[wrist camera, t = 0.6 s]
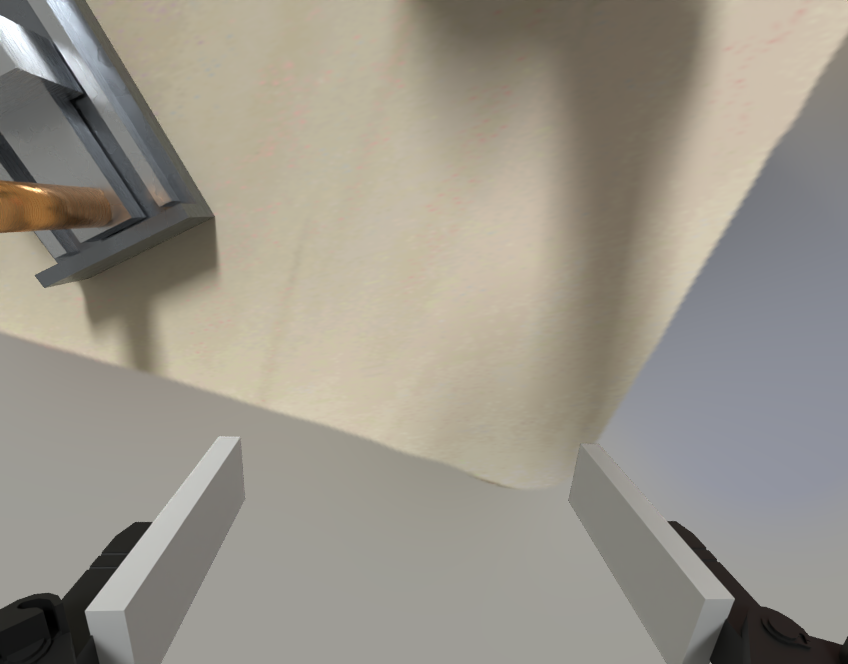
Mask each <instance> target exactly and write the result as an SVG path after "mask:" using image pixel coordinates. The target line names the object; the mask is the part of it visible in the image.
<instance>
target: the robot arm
mask: <svg viewBox="0 0 848 664" xmlns="http://www.w3.org/2000/svg"><path fill="white" fill-rule="evenodd" d="M244 500H245V491H244V477H243V464H242V450H241V438H240V437H223V436H221V437H218V438H217V440H216V441H215V442H214V443H213V445H212V446H211V447H210V449H209V450H208V451H207V453H206V454H205V455H204V456H203V458H202V459H201V460H200V462H199V463H198V464H197V466H196V467H195V468H194V470H193V471H192V472H191V474H190V475H189V476H188V477H187V479H186V480H185V481H184V483H183V484H182V485H181V487H180V488H179V490H178V491H177V492H176V493H175V494H174V496H173V497H172V498H171V500H170V501H169V502H168V503H167V505H166V506H165V507H164V509H163V510H162V511H161V513H160V514H159V515H158V517H157V518H156V519H155V520H154V522H135V523H133V524H132V525H130V526H129V527H128V528H126V529H125V530H124V531H122V532H121V533H119V534H118V535H117V536H115V538H114V539H113V540H112V541H111V542H110V543H109V545H108V546H107V547H106V548H105V549H104V550H103V552H102V554H101V556H98V558H97V559H96V560H95V561H94V562H93V563H92V565H91V566H90V569H89V570H87V571H86V572H85V573H84V574H83V575H82V577H81V578H80V579H79V580H78V581H77V582H76V583H75V585H74V586H73V587H72V588H71V589H70V591H69V592H68V593H67V594H66V595H65V596H64V598H63V599H62V600H61V599H60V598H59V596H58V595H54V594H51V593H42V594H34V595H31V596H28V597H25V598H22V599H19V600H17V601H15V602H13V603H11V604H9V605H8V606H6V607H4V608H2V609H0V664H161V662H162V660H163V658H164V656H165V654H166V653H167V651H168V648H169V647H170V645H171V642H172V641H173V639H174V637H175V635H176V633H177V631H178V629H179V627H180V625H181V623H182V621H183V619H184V617H185V615H186V613H187V611H188V609H189V607H190V606H191V604H192V602H193V600H194V598H195V596H196V594H197V592H198V590H199V588H200V586H201V584H202V582H203V580H204V578H205V576H206V574H207V572H208V570H209V568H210V566H211V564H212V563H213V561H214V559H215V557H216V555H217V553H218V551H219V549H220V547H221V545H222V543H223V541H224V539H225V537H226V535H227V533H228V531H229V529H230V527H231V525H232V523H233V521H234V519H235V517H236V516H237V514H238V512H239V509H240V508H241V506H242V504H243V502H244ZM568 501H569V502H570V504H571V506H572V507H573V509H574V511H575V512H576V514H577V516H578V517H579V519H580V521H581V522H582V524H583V525H584V527H585V529H586V531H587V532H588V534H589V536H590V537H591V539H592V541H593V542H594V544H595V546H596V547H597V549H598V551H599V552H600V554H601V556H602V557H603V559H604V561H605V562H606V564H607V565H608V567H609V569H610V570H611V572H612V573H613V575H614V577H615V579H616V580H617V582H618V584H619V585H620V587H621V589H622V590H623V592H624V594H625V595H626V597H627V599H628V600H629V602H630V604H631V605H632V607H633V608H634V610H635V612H636V614H637V615H638V617H639V618H640V620H641V622H642V623H643V625H644V627H645V628H646V630H647V632H648V633H649V635H650V637H651V638H652V640H653V642H654V643H655V645H656V647H657V648H658V650H659V652H660V653H661V655H662V657H663V658H664V660H665V662H666V663H667V664H709V663H710V662H711V663H712V664H848V637H847V639H846V641H845V643H844V644H843V645H840V644H837V643H834V642H830V641H826V640H823V639H819V638H815V637H812V636H809V635H808V634H807V633H806V632H805V630H804V629H803V628H801V627H800V626H799V625H798V624H796V623H795V622H794V621H793V620H791V619H790V618H788V617H787V616H785V615H783V614H781V613H779V612H778V611H775V610H773V609H770V608H767V607H761V606H760V605H759V604H758V603H757V602H756V601H755V600H754V599H753V598H752V597H751V596H750V595H749V593H748V592H747V591H746V590H745V589H744V588H743V587H742V586H741V585H740V584H739V583H738V582H737V580H736V579H735V578H734V577H733V576H732V575H731V574H730V573H729V572H728V571H727V570H726V569H725V567H723V565H722V564H721V563H720V562H717V559H716V558H715V557H714V556H713V554H712V553H711V552H710V551H709V550H706V547H705V546H704V545H703V544H702V543H701V542H700V540H699V539H698V538H697V537H696V536H695V535H694V534H693V533H692V532H690V531H689V530H687V529H686V528H685V527H683V526H681V525H680V524H679V523H678V522H676V521H666V520H665V519H664V518H663V516H662V515H661V514H660V513H659V512H658V511H657V510H656V508H655V507H654V506H653V505H652V504H651V503H650V502H649V500H647V498H646V497H645V496H644V495H643V494H642V493H641V492H640V490H639V489H638V488H637V487H636V486H635V485H634V483H633V482H632V481H631V480H630V479H629V478H628V477H627V475H626V474H625V473H624V472H623V471H622V470H621V469H620V467H619V466H618V465H617V464H616V463H615V462H614V461H613V460H612V458H611V457H610V456H609V455H608V454H607V453H606V452H605V450H604V449H603V448H602V447H601V446H600V445H599V444H584V443H580V448H579V453H578V457H577V462H576V467H575V472H574V476H573V481H572V486H571V490H570V495H569V500H568Z"/></svg>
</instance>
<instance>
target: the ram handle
mask: <svg viewBox="0 0 848 664" xmlns="http://www.w3.org/2000/svg"><path fill="white" fill-rule="evenodd" d="M81 94H83V92H82V90H81V89H80V87H79V85H78V84H77V82H76V81H75V79H74V78H73V76H72V74H71V73H70V71H69V70H68V68H67V67H66V65H65V64H64V62H63V60H62V59H61V57H60V56H59V54H58V53H57V51H56V50H55V48H54V46H53V45H52V43H51V42H50V40H49V39H47V38H45V37H43V36H41V35H39V34H37V33H35V32H33V31H31V30H29V29H27V28H25V27H23V26H21V25H19V24H17V23H15V22H13V21H11V20H9V19H7V18H5V17H3V16H1V15H0V134H2V135H3V136H4V137H5V139H6V140H7V142H8V143H9V144H10V146H11V147H12V149H13V150H14V151H15V153H16V154H17V156H18V157H19V158H20V160H21V161H22V162H23V164H24V165H25V167H26V168H27V169H28V171H29V172H30V174H31V175H32V176H33V178H34V179H35V181H36V182H37V183H29V182H16V181H4V180H0V233H7V232H25V231H43V230H62V229H71V230H72V232H73V233H74V235H75V236H76V237H77V239H78V240H79V242H80V243H86V242H95V241H99V240H101V239H103V238H105V237H107V236H109V235H111V234H113V233H115V232H117V231H119V230H121V229H123V228H125V227H127V226H129V225H131V224H133V223H135V222H137V221H139V220H142V219H144V218H146V216H145V215H144V213H143V212H142V210H141V209H140V207H139V206H138V204H137V203H136V201H135V200H134V198H133V196H132V195H131V193H130V192H129V190H128V189H127V187H126V186H125V184H124V183H123V181H122V180H121V178H120V177H119V175H118V174H117V172H116V170H115V169H114V167H113V166H112V164H111V163H110V161H109V160H108V158H107V157H106V155H105V154H104V152H103V151H102V149H101V148H100V146H99V144H98V143H97V141H96V140H95V138H94V137H93V135H92V134H91V132H90V131H89V129H88V128H87V126H86V125H85V123H84V122H83V120H82V118H81V117H80V115H79V114H78V112H77V111H76V109H75V108H74V106H73V105H72V103H71V102H70V100H72V99H74V98H75V97H77V96H79V95H81Z"/></svg>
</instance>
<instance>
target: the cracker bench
mask: <svg viewBox="0 0 848 664" xmlns="http://www.w3.org/2000/svg"><path fill="white" fill-rule="evenodd" d="M0 15H1V16H3V17H5V18H7V19H9V20H11V21H13V22H15V23H17V24H19V25H21V26H23V27H25V28H27V29H29V30H31V31H33V32H35V33H37V34H39V35H41V36H43V37H45V38H47V39H49V40H50V42H51V43H52V45H53V46H54V48H55V50H56V51H57V53H58V54H59V56H60V57H61V59H62V60H63V62H64V64H65V65H66V67H67V68H68V70H69V71H70V73H71V74H72V76H73V78H74V79H75V81H76V82H77V84H78V85H79V87H80V89H81V90H82V92H83V94H81V95H79V96H77V97H75V98H74V99H72V100H70V102H71V103H72V105H73V106H74V108H75V109H76V111H77V112H78V114H79V115H80V117H81V118H82V120H83V122H84V123H85V125H86V126H87V128H88V129H89V131H90V132H91V134H92V135H93V137H94V138H95V140H96V141H97V143H98V144H99V146H100V148H101V149H102V151H103V152H104V154H105V155H106V157H107V158H108V160H109V161H110V163H111V164H112V166H113V167H114V169H115V170H116V172H117V174H118V175H119V177H120V178H121V180H122V181H123V183H124V184H125V186H126V187H127V189H128V190H129V192H130V193H131V195H132V196H133V198H134V200H135V201H136V203H137V204H138V206H139V207H140V209H141V210H142V212H143V213H144V215H145V216H146V218H144V219H142V220H139V221H137V222H135V223H133V224H131V225H129V226H127V227H125V228H123V229H121V230H119V231H117V232H115V233H113V234H111V235H109V236H107V237H105V238H103V239H101V240H99V241H95V242H86V243H80V242H79V240H78V239H77V237H76V236H75V235H74V233H73V232H72V230H71V229H62V230H43V231H34V232H35V234H36V235H37V236H38V238H39V239H40V240H41V242H42V243H43V244H44V246H45V247H46V248H47V250H48V251H49V252H50V254H51V255H52V256H53V258H54V259H55V260H56V262H57V263H58V264H56V265H54V266H52V267H50V268H48V269H46V270H44V271H42V272H40V273H38V274H36V275H35V277H36V278H37V279H38V280H39V282H40V283H41V284H42V286H43V287H44V288H47V287H52V286H56V285H61V284H65V283H70V282H74V281H79V280H83V279H88V278H90V277H92V276H94V275H96V274H98V273H100V272H102V271H104V270H106V269H108V268H110V267H112V266H114V265H116V264H119V263H121V262H123V261H125V260H127V259H129V258H131V257H133V256H135V255H137V254H139V253H141V252H143V251H145V250H147V249H149V248H151V247H153V246H155V245H157V244H159V243H161V242H164V241H166V240H168V239H170V238H172V237H174V236H176V235H178V234H180V233H182V232H184V231H186V230H188V229H190V228H192V227H194V226H196V225H198V224H200V223H202V222H204V221H206V220H209V219H211V218H213V217H215V216H214V215H213V213H212V211H211V210H210V208H209V206H208V205H207V203H206V201H205V200H204V198H203V196H202V195H201V193H200V191H199V190H198V188H197V186H196V185H195V183H194V181H193V180H192V178H191V176H190V175H189V173H188V171H187V170H186V168H185V166H184V165H183V163H182V161H181V159H180V158H179V156H178V154H177V153H176V151H175V149H174V148H173V146H172V144H171V143H170V141H169V139H168V138H167V136H166V134H165V133H164V131H163V129H162V128H161V126H160V124H159V123H158V121H157V119H156V118H155V116H154V114H153V113H152V111H151V109H150V108H149V106H148V104H147V103H146V101H145V99H144V98H143V96H142V94H141V93H140V91H139V89H138V88H137V86H136V84H135V83H134V81H133V79H132V78H131V76H130V74H129V73H128V71H127V69H126V68H125V66H124V64H123V63H122V61H121V59H120V58H119V56H118V54H117V53H116V51H115V49H114V48H113V46H112V44H111V43H110V41H109V39H108V38H107V36H106V34H105V33H104V31H103V29H102V28H101V26H100V24H99V23H98V21H97V19H96V18H95V16H94V14H93V13H92V11H91V9H90V8H89V6H88V4H87V3H86V1H85V0H0ZM0 180H4V181H16V182H29V183H37V182H36V181H35V179H34V178H33V176H32V175H31V174H30V172H29V171H28V169H27V168H26V167H25V165H24V164H23V162H22V161H21V160H20V158H19V157H18V156H17V154H16V153H15V151H14V150H13V149H12V147H11V146H10V144H9V143H8V142H7V140H6V139H5V137H4V136H3V135H2V134H0Z"/></svg>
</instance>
